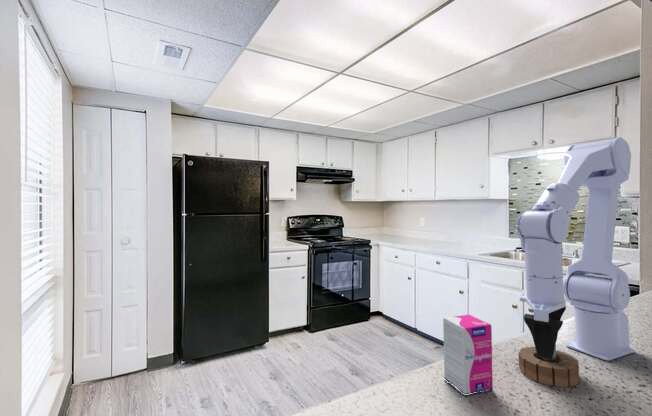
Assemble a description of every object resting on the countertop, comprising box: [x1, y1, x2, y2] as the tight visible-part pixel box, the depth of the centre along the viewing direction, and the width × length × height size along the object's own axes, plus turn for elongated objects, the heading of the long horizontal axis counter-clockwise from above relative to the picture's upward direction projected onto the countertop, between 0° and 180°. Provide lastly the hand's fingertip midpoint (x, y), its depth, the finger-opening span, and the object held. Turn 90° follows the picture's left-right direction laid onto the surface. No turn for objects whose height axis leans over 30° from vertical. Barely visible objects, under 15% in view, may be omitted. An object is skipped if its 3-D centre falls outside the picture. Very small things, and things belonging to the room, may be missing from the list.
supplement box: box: [442, 314, 494, 394], centre depth 57 cm, size 6×6×12 cm
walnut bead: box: [518, 346, 580, 388], centre depth 60 cm, size 9×9×3 cm
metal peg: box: [538, 341, 557, 363], centre depth 60 cm, size 3×3×6 cm
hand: (547, 349), depth 60 cm, fingers open, 7 cm apart
